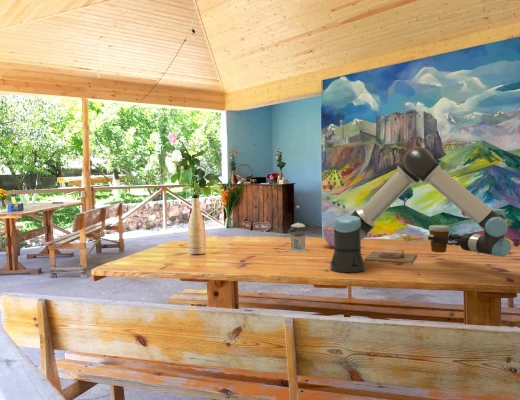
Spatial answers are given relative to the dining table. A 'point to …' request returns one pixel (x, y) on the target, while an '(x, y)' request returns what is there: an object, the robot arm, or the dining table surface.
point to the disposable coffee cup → (441, 232)
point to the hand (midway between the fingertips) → (430, 236)
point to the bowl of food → (329, 234)
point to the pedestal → (391, 256)
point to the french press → (297, 238)
